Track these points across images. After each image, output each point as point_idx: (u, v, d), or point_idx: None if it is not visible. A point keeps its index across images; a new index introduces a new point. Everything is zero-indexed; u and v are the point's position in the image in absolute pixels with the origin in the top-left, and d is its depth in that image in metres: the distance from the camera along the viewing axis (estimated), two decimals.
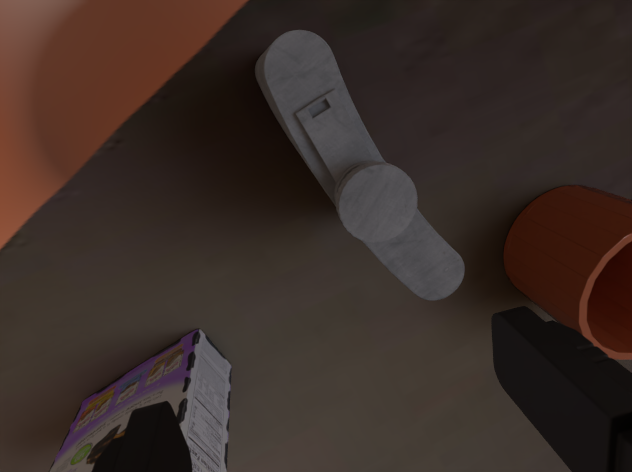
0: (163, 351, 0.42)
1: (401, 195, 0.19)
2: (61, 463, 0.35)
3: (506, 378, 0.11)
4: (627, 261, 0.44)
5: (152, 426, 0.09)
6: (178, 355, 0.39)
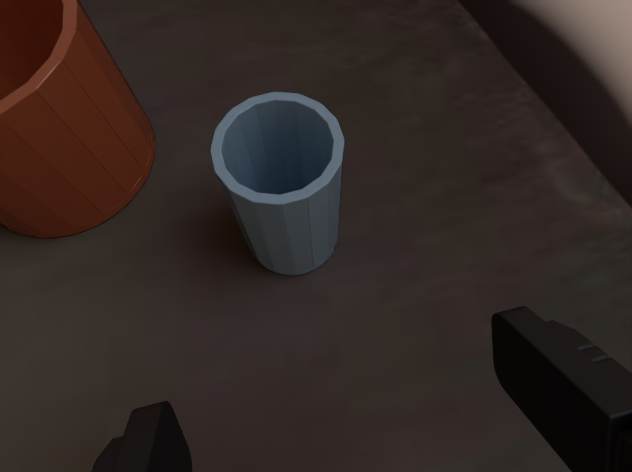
0: None
1: None
2: None
3: (506, 378, 0.11)
4: None
5: (152, 426, 0.09)
6: None
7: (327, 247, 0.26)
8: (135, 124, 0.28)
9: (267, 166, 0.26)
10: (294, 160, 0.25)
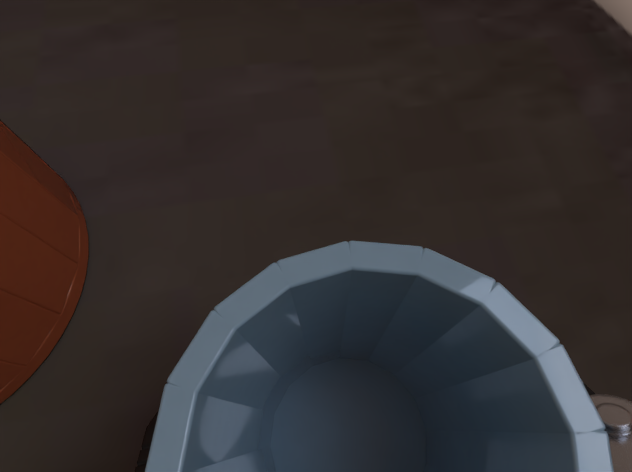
0: None
1: None
2: None
3: None
4: None
5: None
6: None
7: None
8: (32, 237, 0.14)
9: (304, 350, 0.11)
10: (364, 337, 0.11)
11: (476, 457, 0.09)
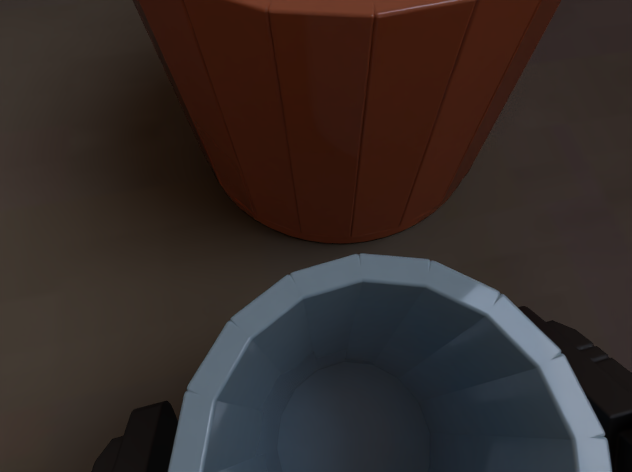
0: None
1: None
2: None
3: None
4: None
5: (152, 426, 0.09)
6: None
7: None
8: None
9: (311, 355, 0.12)
10: (370, 342, 0.12)
11: (479, 460, 0.10)
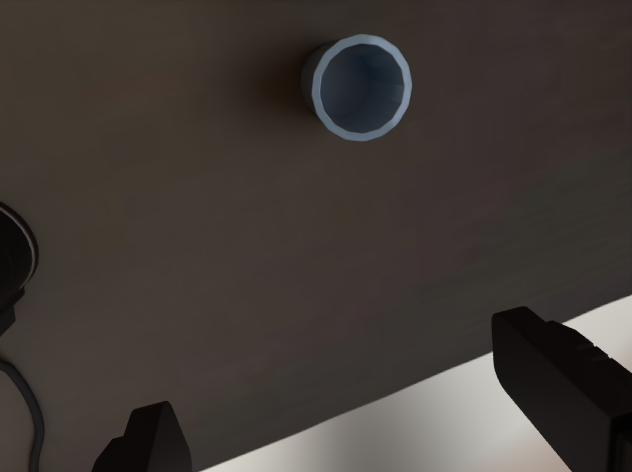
0: None
1: None
2: None
3: (506, 378, 0.11)
4: None
5: (152, 426, 0.09)
6: None
7: None
8: None
9: None
10: None
11: (385, 90, 0.30)
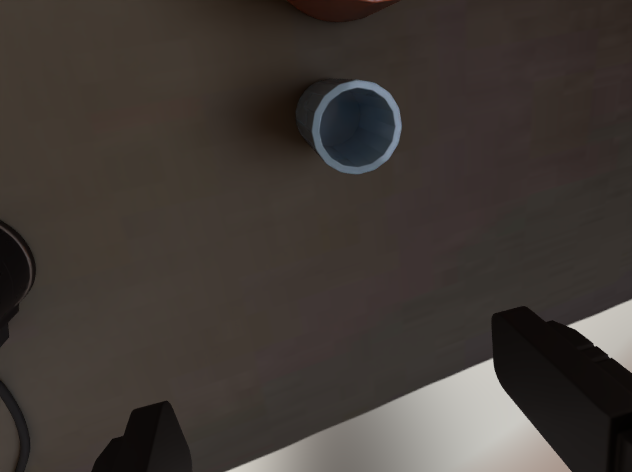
0: None
1: None
2: None
3: (506, 378, 0.11)
4: None
5: (152, 426, 0.09)
6: None
7: None
8: None
9: None
10: None
11: (376, 127, 0.33)
